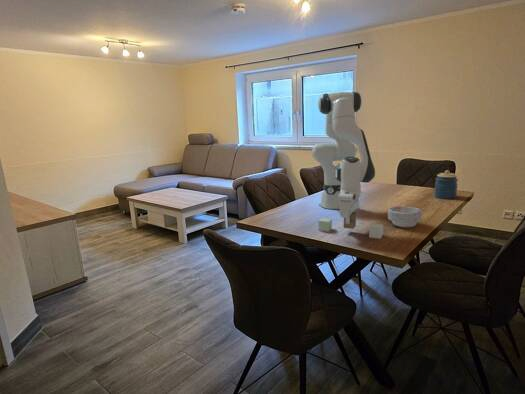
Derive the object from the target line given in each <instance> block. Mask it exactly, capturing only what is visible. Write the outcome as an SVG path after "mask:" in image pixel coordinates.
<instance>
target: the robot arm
mask: <svg viewBox="0 0 525 394" xmlns="http://www.w3.org/2000/svg"><path fill="white" fill-rule="evenodd" d="M362 100H363V99H362V97H361V94H360V93H359V92H357V91H339V92H330V93H328V92H326V93H323V94H321V95H320V96H319V99H318V102H317V106H318V110H319V112H320V113H321V114H322V115H326V116H325V129H324V130H325V134H326V136H327V137H329V138H331V139H332V140H334V141H333V142H332V141H331V142H320V143H316V144H314V146H313V147H312V149H311V155H312V157H313V159H314V160H315V161H317V163H318V164H320V166H321V167H322V170H323V175H324V176H323V177H324V183H323V191H321V193H320V195H321V197H320V202H319V203H318V206H320V207H322V209H329V210H339V216H340V217H341V218H343V219H344V218H345V219H346V224H349V223H350V215H351V214H352V213H353V212H356V210H357V209H358V208H359V206H360V197H361V191H362V190H361V188H362V187H361V186H362V185H361V183H369V182H371V181H372V180H373V179H374V178H375V177H376V169H375V166H374V162H373V161H372V157H371V152H370V149H369V145H368V142H367V138H366V135H365V132H364V130H363V129H361V128H360V127H359V126H358V124H357V122H356V113H357V112H358V111H359V110H360V109H361V107H362V103H363V102H362ZM357 150H358V154H359V157H360V158H358V157H356V155H357ZM334 161H335V162H340V161H341V162H340V163H337V164H336V165H334V163H333V162H334Z"/></svg>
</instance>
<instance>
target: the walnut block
mask: <svg viewBox="0 0 525 394" xmlns="http://www.w3.org/2000/svg"><path fill="white" fill-rule="evenodd" d="M356 222H357V211H355V212H353V213H352V214H351V215H350V223H349V224H346V219H345V218H344V217H343V228H344V229H349V230H350V229H351V230H354V229H355V228H356V226H357V225H356Z"/></svg>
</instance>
